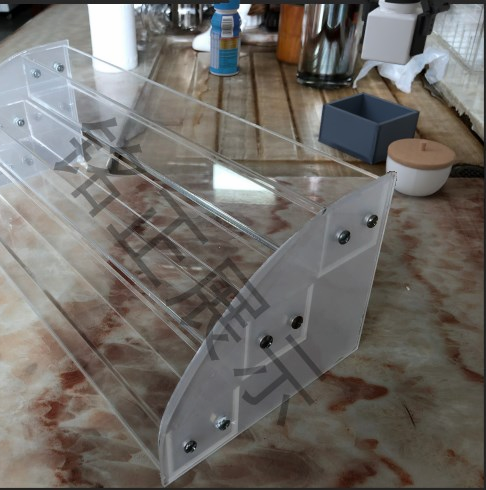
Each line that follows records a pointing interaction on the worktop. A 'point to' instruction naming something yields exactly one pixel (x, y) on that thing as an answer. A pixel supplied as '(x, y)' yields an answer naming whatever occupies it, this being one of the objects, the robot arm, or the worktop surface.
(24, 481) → the worktop surface
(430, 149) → the trinket box
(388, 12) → the container
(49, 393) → the worktop surface
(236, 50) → the beverage bottle
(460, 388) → the worktop surface
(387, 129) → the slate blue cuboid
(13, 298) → the worktop surface
